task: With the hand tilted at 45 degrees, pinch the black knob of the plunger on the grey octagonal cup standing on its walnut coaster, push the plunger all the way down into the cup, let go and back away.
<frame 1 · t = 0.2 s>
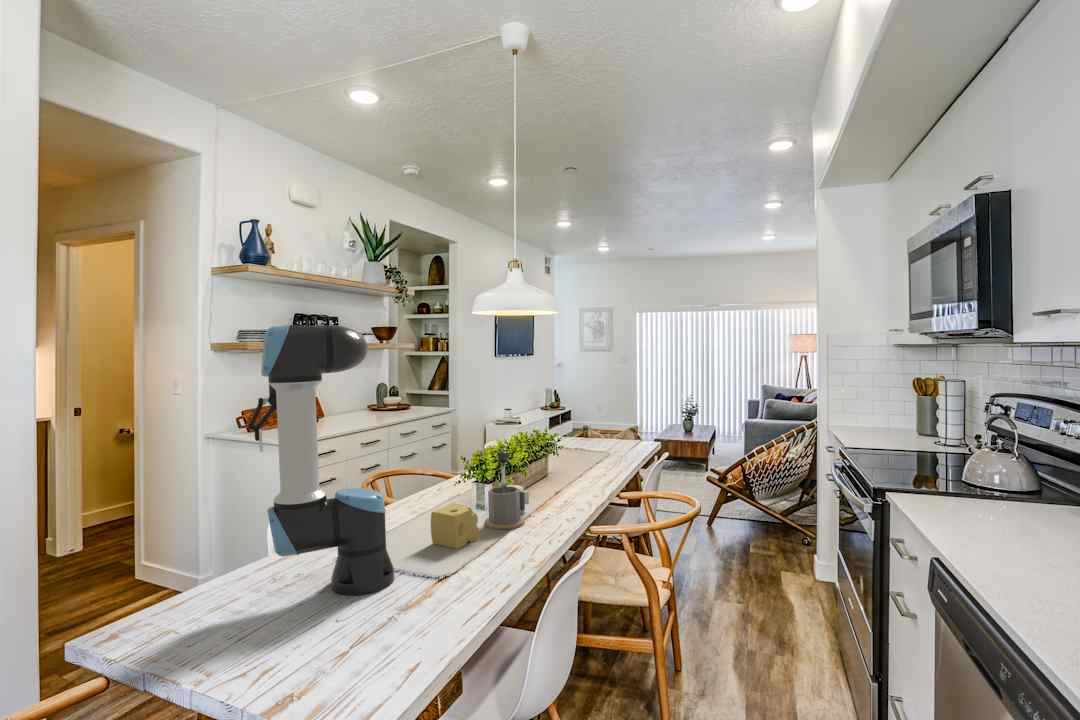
hand: (285, 448, 177), 28 cm above the table, tool pointing down, fingers open, 13 cm apart
cheese: (455, 542, 169), on the table
plunger: (503, 476, 184), point 16 cm above the table, slide at 0.0 cm
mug: (513, 513, 195), on the table
grey octagonal cup: (504, 523, 185), on the table
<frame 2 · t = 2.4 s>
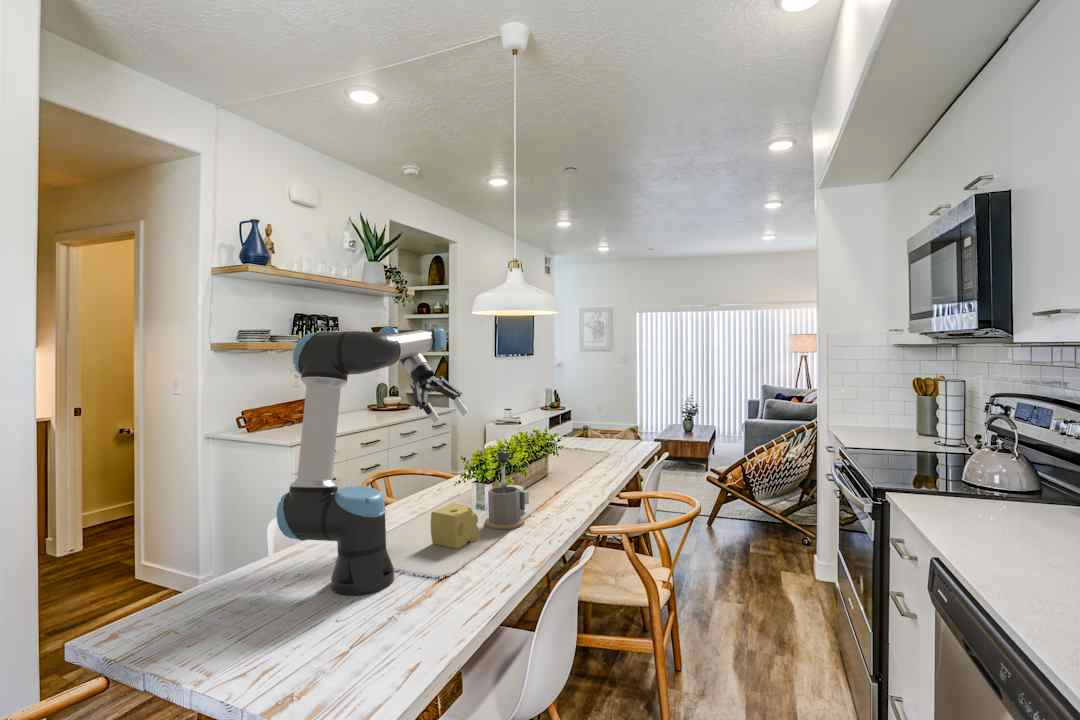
hand: (451, 417, 189), 35 cm above the table, tool tilted 40°, fingers open, 13 cm apart
nothing on the table moved.
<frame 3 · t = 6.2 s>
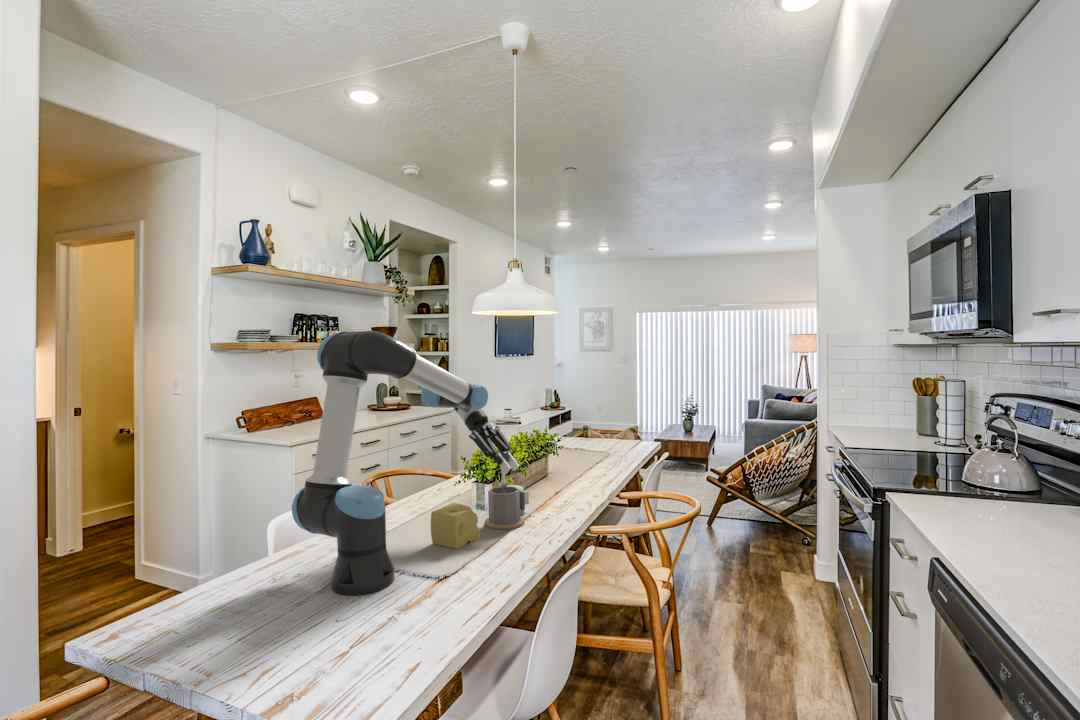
hand: (512, 469, 182), 18 cm above the table, tool tilted 45°, fingers closed on plunger, 4 cm apart
plunger: (503, 476, 184), point 16 cm above the table, slide at 0.0 cm, touching gripper
everything else where it was.
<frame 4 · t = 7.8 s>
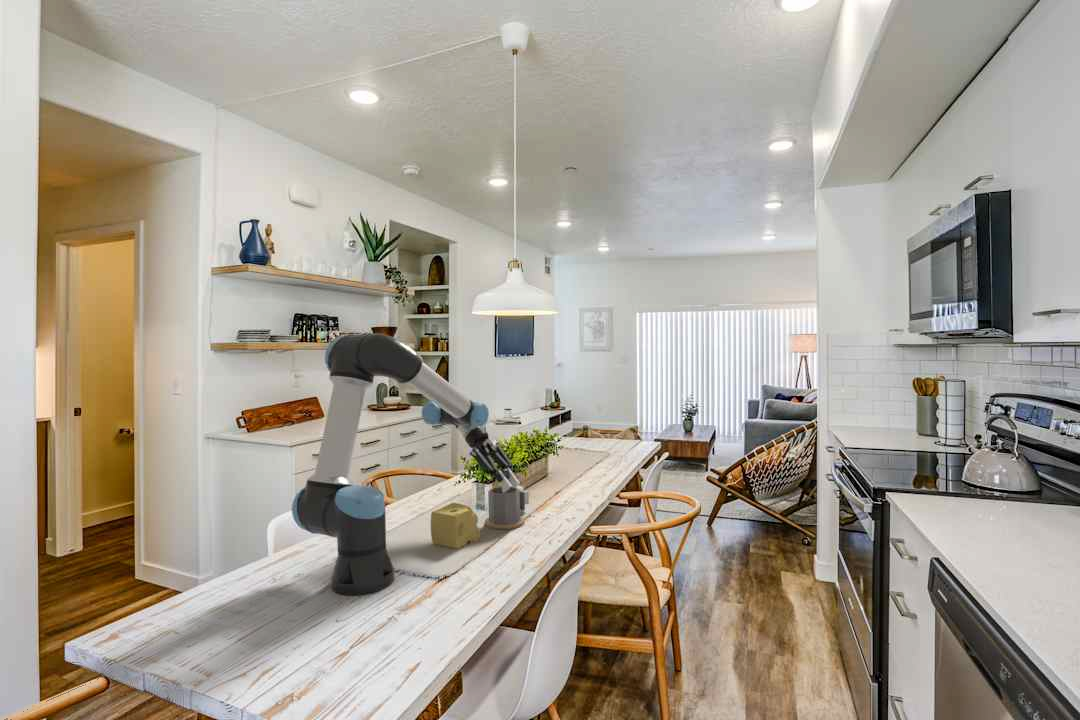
hand: (512, 487, 182), 12 cm above the table, tool tilted 45°, fingers closed on plunger, 4 cm apart
plunger: (504, 493, 184), point 10 cm above the table, slide at 5.7 cm, touching gripper
everything else where it was.
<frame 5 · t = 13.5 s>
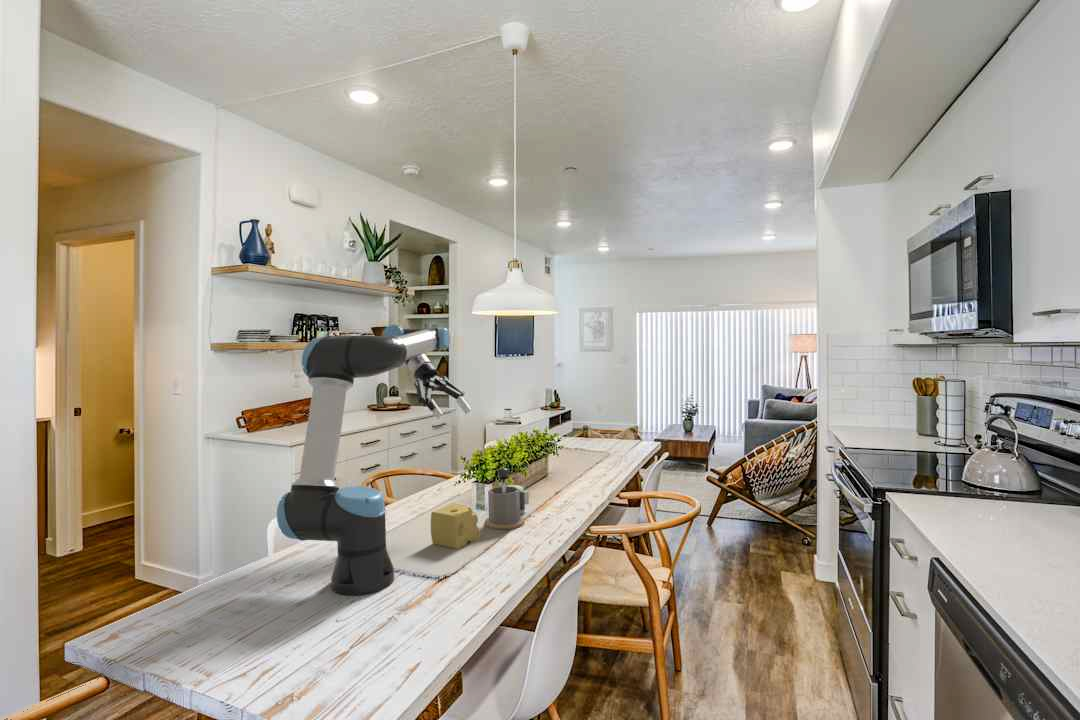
hand: (454, 414, 190), 36 cm above the table, tool tilted 45°, fingers open, 13 cm apart
plunger: (504, 492, 184), point 10 cm above the table, slide at 5.5 cm
everything else where it was.
at the end: plunger slide at 5.5 cm; the gripper is holding nothing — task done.
